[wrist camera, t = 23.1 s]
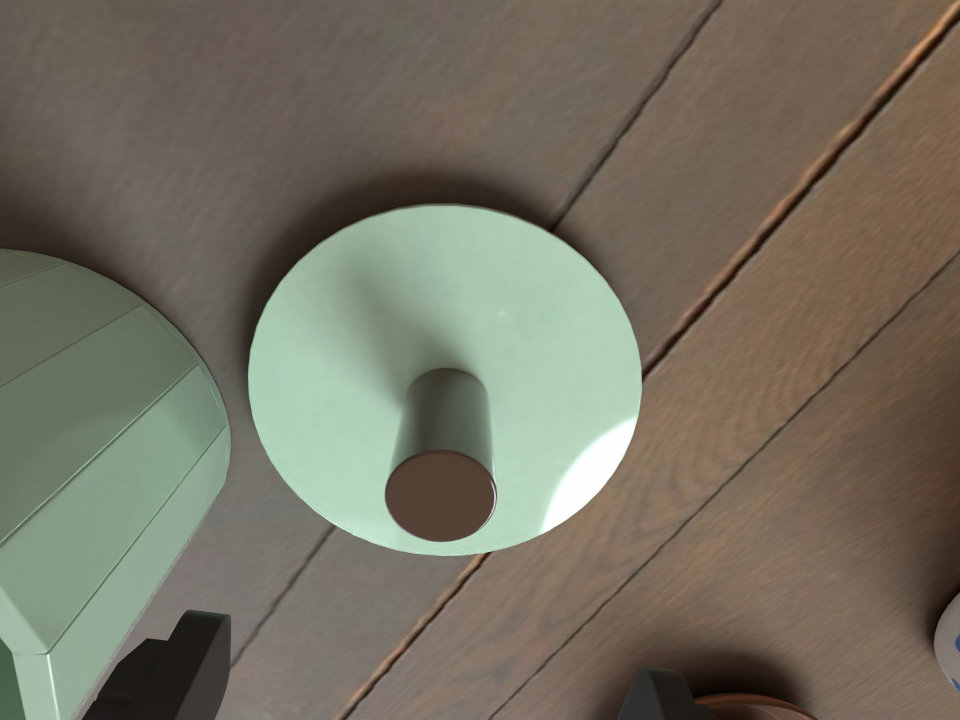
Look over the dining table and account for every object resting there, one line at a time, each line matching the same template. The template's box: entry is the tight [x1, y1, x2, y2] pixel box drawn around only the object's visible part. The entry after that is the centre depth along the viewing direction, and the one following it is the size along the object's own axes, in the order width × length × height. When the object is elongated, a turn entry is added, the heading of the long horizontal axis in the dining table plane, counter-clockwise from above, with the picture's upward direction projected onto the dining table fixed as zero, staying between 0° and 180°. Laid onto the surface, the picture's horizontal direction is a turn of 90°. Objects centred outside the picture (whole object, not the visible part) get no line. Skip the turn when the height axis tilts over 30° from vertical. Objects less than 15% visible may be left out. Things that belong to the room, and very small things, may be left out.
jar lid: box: [248, 203, 642, 556], centre depth 19 cm, size 15×15×7 cm
